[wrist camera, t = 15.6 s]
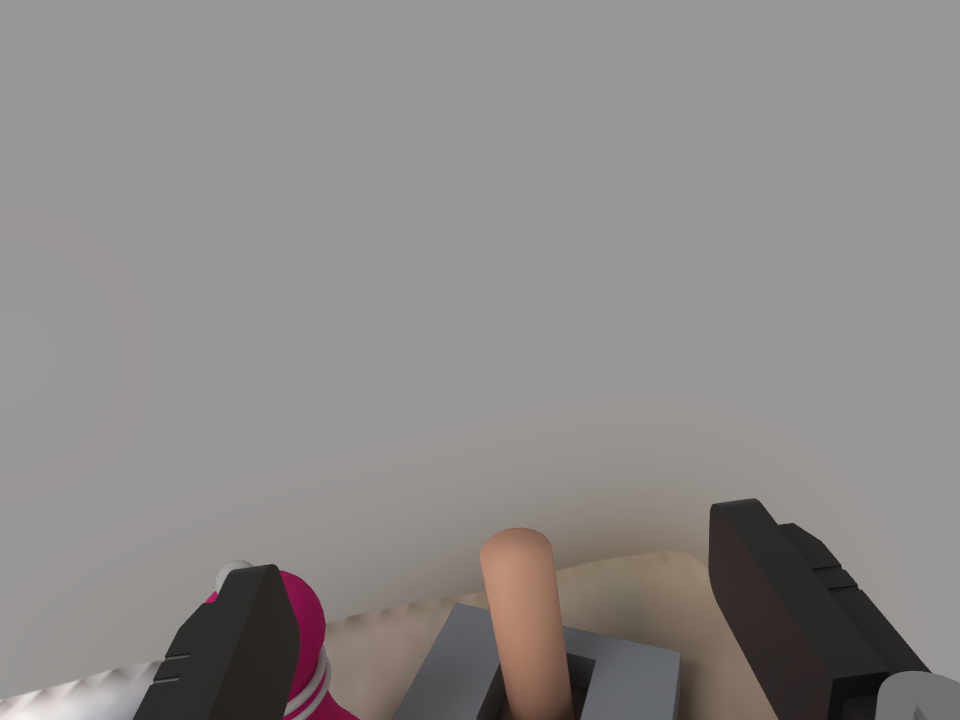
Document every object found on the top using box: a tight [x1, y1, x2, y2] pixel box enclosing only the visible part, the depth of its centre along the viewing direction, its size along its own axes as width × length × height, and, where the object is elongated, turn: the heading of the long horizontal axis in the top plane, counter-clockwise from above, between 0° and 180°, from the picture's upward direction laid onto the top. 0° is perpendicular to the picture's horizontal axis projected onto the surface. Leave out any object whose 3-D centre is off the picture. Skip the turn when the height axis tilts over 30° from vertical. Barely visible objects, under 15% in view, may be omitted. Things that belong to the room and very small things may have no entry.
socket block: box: [392, 603, 681, 720], centre depth 38 cm, size 16×10×3 cm, turn 67°
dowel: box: [480, 528, 575, 720], centre depth 36 cm, size 4×4×14 cm
